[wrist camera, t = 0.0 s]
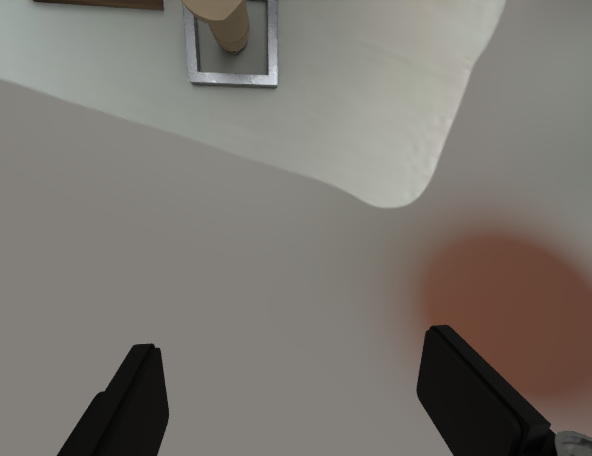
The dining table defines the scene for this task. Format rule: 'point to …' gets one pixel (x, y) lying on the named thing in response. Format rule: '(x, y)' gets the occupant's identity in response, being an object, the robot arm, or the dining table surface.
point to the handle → (223, 21)
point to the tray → (114, 3)
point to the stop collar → (224, 78)
